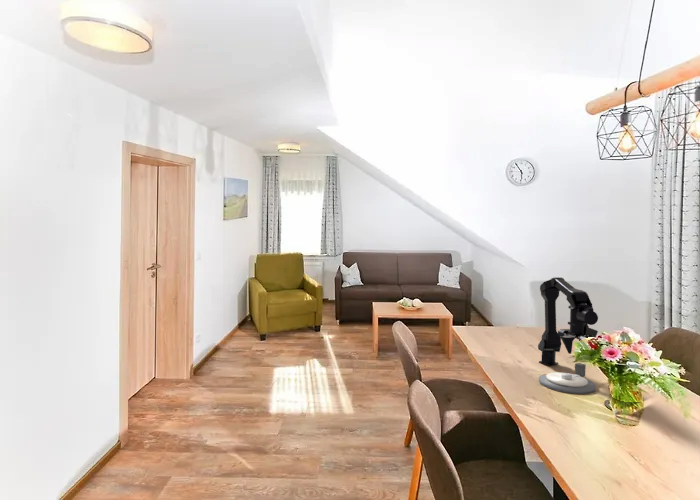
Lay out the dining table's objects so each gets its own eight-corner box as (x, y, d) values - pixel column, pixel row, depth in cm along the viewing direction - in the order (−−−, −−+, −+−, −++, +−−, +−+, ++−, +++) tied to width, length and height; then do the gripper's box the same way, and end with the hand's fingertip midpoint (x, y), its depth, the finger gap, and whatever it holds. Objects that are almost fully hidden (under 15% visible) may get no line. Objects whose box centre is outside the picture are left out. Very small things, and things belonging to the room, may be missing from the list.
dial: (573, 389, 176) (573, 375, 175) (538, 378, 189) (538, 365, 189) (600, 381, 186) (600, 368, 186) (564, 371, 199) (565, 359, 199)
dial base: (558, 373, 202) (558, 370, 202) (606, 388, 183) (606, 384, 183) (527, 381, 190) (528, 377, 190) (576, 397, 172) (576, 393, 171)
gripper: (610, 324, 179) (609, 361, 179) (580, 316, 197) (579, 350, 198) (585, 324, 177) (584, 362, 178) (557, 316, 196) (556, 351, 196)
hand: (576, 356), depth 187 cm, fingers open, 9 cm apart
